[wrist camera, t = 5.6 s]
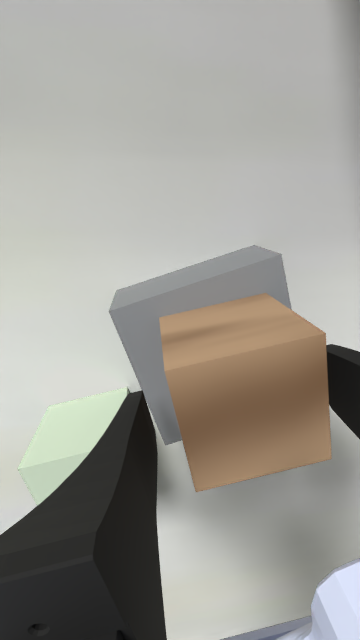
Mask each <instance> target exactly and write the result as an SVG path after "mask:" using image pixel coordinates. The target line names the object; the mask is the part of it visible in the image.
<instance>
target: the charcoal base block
mask: <svg viewBox="0 0 360 640" xmlns="http://www.w3.org/2000/svg"><path fill="white" fill-rule="evenodd" d="M263 293H267V294H268V295H270V296H271V297H273V298H274V299H276V300H277V301H279V302H280V303H282V304H283V305H285V306H286V307H288V308H289V309H291V304H290V299H289V293H288V288H287V282H286V277H285V272H284V266H283V261H282V255H281V254H279V253H276V252H273V251H270V250H267V249H264V248H261V247H258V246H255V245H253V246H250V247H247V248H244V249H240V250H237V251H234V252H231V253H228V254H225V255H222V256H219V257H216V258H213V259H210V260H207V261H204V262H201V263H198V264H195V265H192V266H189V267H186V268H183V269H180V270H177V271H174V272H171V273H168V274H165V275H162V276H159V277H156V278H153V279H150V280H147V281H144V282H141V283H138V284H135V285H132V286H129V287H126V288H123V289H120V290H117V291H116V293H115V296H114V299H113V301H112V304H111V307H110V309H109V313H110V315H111V318H112V320H113V322H114V325H115V327H116V329H117V332H118V334H119V337H120V339H121V341H122V344H123V346H124V348H125V351H126V353H127V356H128V358H129V360H130V363H131V365H132V367H133V370H134V372H135V375H136V377H137V379H138V382H139V384H140V386H141V389H142V390H143V393H144V396H145V398H146V401H147V403H148V405H149V408H150V410H151V412H152V415H153V417H154V420H155V422H156V424H157V427H158V429H159V431H160V434H161V436H162V439H163V441H164V443H165V445H168V444H171V443H175V442H178V441H181V440H182V437H181V433H180V429H179V425H178V421H177V417H176V413H175V410H174V406H173V402H172V398H171V394H170V390H169V386H168V383H167V379H166V375H165V371H164V361H163V351H162V341H161V332H160V322H159V317H164V316H168V315H172V314H177V313H181V312H185V311H190V310H194V309H198V308H203V307H207V306H211V305H215V304H220V303H224V302H228V301H233V300H237V299H241V298H246V297H250V296H254V295H259V294H263ZM291 310H292V309H291Z"/></svg>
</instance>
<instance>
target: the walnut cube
mask: <svg viewBox="0 0 360 640" xmlns="http://www.w3.org/2000/svg"><path fill="white" fill-rule="evenodd" d="M159 322H160V332H161V341H162V351H163V361H164V371H165V375H166V379H167V383H168V386H169V390H170V394H171V398H172V402H173V406H174V410H175V413H176V417H177V421H178V425H179V429H180V433H181V437H182V441H183V444H184V448H185V452H186V456H187V460H188V464H189V468H190V471H191V475H192V479H193V483H194V487H195V491H196V492H199V491H203V490H207V489H211V488H215V487H219V486H223V485H227V484H232V483H236V482H240V481H244V480H248V479H252V478H256V477H260V476H264V475H268V474H272V473H276V472H281V471H285V470H289V469H293V468H297V467H301V466H305V465H309V464H313V463H317V462H321V461H325V460H330V459H332V458H331V437H330V416H329V395H328V374H327V352H326V333H325V332H323V331H322V330H320V329H319V328H317V327H316V326H314V325H313V324H311V323H310V322H308V321H307V320H305V319H304V318H302V317H301V316H299V315H298V314H297V313H295V312H294V311H292V310H291V309H289V308H288V307H286V306H285V305H283V304H282V303H280V302H279V301H277V300H276V299H274V298H273V297H271V296H270V295H268V294H267V293H263V294H259V295H254V296H250V297H246V298H241V299H237V300H233V301H228V302H224V303H220V304H215V305H211V306H207V307H203V308H198V309H194V310H190V311H185V312H181V313H177V314H172V315H168V316H164V317H159Z"/></svg>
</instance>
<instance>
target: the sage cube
mask: <svg viewBox="0 0 360 640" xmlns="http://www.w3.org/2000/svg"><path fill="white" fill-rule="evenodd" d="M128 394H129V390H128V387H125V388H121V389H117V390H113V391H109V392H105V393H101V394H96V395H92V396H88V397H84V398H80V399H76V400H71V401H67V402H63V403H59V404H55V405H51V406H49V407H48V409H47V411H46V413H45V415H44V417H43V419H42V421H41V423H40V425H39V427H38V429H37V431H36V433H35V435H34V437H33V439H32V441H31V443H30V445H29V447H28V449H27V451H26V453H25V455H24V457H23V459H22V461H21V463H20V465H19V467H18V471H19V473H20V475H21V476H22V478H23V480H24V482H25V484H26V486H27V488H28V489H29V491H30V493H31V495H32V497H33V499H34V501H35V502H36V504H37V506H38V505H39V504H40V503H41V502H42V501H44V500H45V499H46V498H47V497H48V496H49V495H50V494H51V493H52V492H53V491H55V490H56V489H57V488H58V487H59V486H60V485H61V484H62V482H63V481H64V480H65V479H66V478H67V477H68V476H69V475H70V474H71V473H72V472H73V471H74V470H75V469H76V468H77V467H78V466H79V465H80V464H81V462H82V461H83V460H84V459H85V458H86V457H87V455H88V454H89V453H90V452H91V450H92V449H93V448H94V446H95V445H96V444H97V442H98V441H99V439H100V438H101V437H102V435H103V434H104V432H105V431H106V429H107V428H108V426H109V424H110V423H111V421H112V420H113V418H114V416H115V415H116V413H117V411H118V410H119V408H120V406H121V404H122V403H123V401H124V399H125V398H126V396H127V395H128Z"/></svg>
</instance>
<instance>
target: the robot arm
mask: <svg viewBox="0 0 360 640" xmlns="http://www.w3.org/2000/svg"><path fill="white" fill-rule="evenodd" d="M326 352H327V374H328V395H329V405H330V406H331V408H332V409H333V411H334V412H335V413H336V414H337V415H338V416H339V417H340V418H341V419H342V421H343V422H344V423H345V424H346V425H347V426H348V427H349V428H350V429H351V430H352V431H353V432H354V434H355V435H356V436H357V437H358V438H359V439H360V352H358V351H355V350H352V349H348V348H345V347H341V346H337V345H333V344H330V345H326ZM156 502H157V444H156V434H155V429H154V425H153V422H152V419H151V416H150V412H149V409H148V406H147V403H146V399H145V396H144V393H143V390H142V391H138V392H134V393H130V394H128V395H127V396H126V398H125V399H124V401H123V403H122V404H121V406H120V408H119V410H118V411H117V413H116V415H115V416H114V418H113V420H112V421H111V423H110V424H109V426H108V428H107V429H106V431H105V432H104V434H103V435H102V437H101V438H100V439H99V441H98V442H97V444H96V445H95V446H94V448H93V449H92V450H91V452H90V453H89V454H88V455H87V457H86V458H85V459H84V460H83V461H82V462H81V464H80V465H79V466H78V467H77V468H76V469H75V470H74V471H73V472H72V473H71V474H70V475H69V476H68V477H67V478H66V479H65V480H64V481H63V482H62V484H61V485H60V486H59V487H58V488H57V489H56V490H55V491H53V492H52V493H51V494H50V495H49V496H48V497H47V498H46V499H45V500H44V501H42V502H41V503H40V504H39V505H38V506H37V507H35V508H34V509H33V510H32V511H31V512H30V513H28V514H27V515H26V516H25V517H23V518H22V519H21V520H20V521H18V522H17V523H16V524H14V525H13V526H12V527H10V528H9V529H8V530H6V531H5V532H4V533H3V534H1V535H0V640H167V638H166V628H165V618H164V607H163V597H162V586H161V574H160V562H159V550H158V536H157V520H156ZM311 613H312V616H308V617H304V618H301V619H297V620H293V621H289V622H285V623H281V624H278V625H274V626H270V627H266V628H262V629H259V630H255V631H251V632H247V633H243V634H240V635H236V636H232V637H228V638H224V639H221V640H360V558H359V559H356V560H353V561H351V562H349V563H347V564H344V565H342V566H340V567H337V568H335V569H333V570H332V571H331V572H330V573H329V574H328V575H327V576H326V577H325V578H324V579H323V580H322V581H321V582H319V583H318V585H317V588H316V592H315V595H314V598H313V601H312V605H311Z"/></svg>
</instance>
